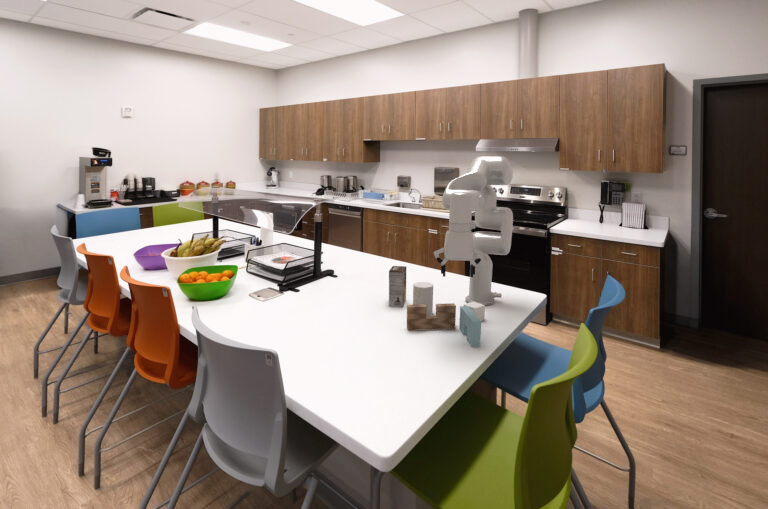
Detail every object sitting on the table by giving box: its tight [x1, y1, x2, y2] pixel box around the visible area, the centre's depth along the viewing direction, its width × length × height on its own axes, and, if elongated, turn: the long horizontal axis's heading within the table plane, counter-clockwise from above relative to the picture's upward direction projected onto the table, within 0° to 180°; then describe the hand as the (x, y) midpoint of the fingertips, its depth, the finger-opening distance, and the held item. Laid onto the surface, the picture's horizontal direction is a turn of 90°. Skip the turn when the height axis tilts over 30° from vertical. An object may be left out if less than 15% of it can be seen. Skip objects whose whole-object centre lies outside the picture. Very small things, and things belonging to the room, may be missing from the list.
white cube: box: [462, 302, 486, 322], centre depth 176 cm, size 6×6×6 cm
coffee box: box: [388, 265, 407, 308], centre depth 193 cm, size 9×6×16 cm
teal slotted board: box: [458, 305, 482, 348], centre depth 158 cm, size 3×16×9 cm, turn 5°
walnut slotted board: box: [406, 302, 457, 331], centre depth 167 cm, size 18×3×9 cm, turn 95°
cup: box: [412, 281, 434, 316], centre depth 183 cm, size 8×8×12 cm
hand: (457, 276), depth 156 cm, fingers open, 9 cm apart
